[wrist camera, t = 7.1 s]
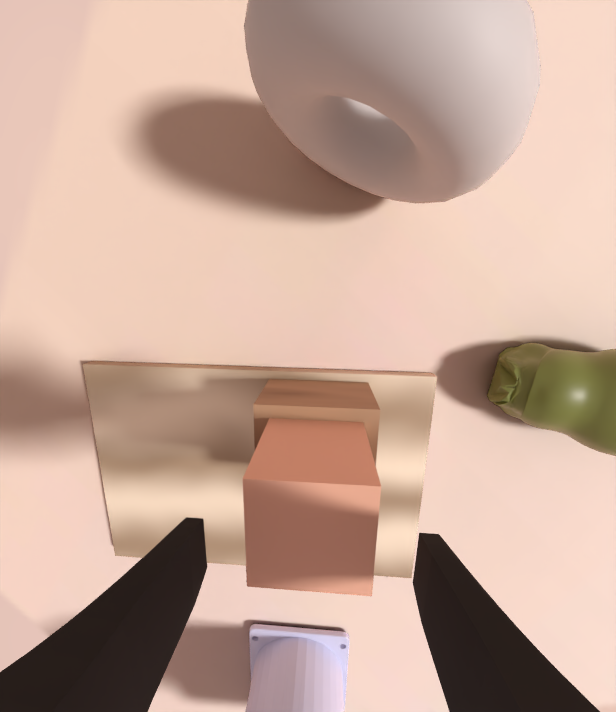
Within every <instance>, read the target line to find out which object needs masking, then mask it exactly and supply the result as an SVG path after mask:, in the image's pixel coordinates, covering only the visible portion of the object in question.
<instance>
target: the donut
mask: <svg viewBox="0 0 616 712" xmlns="http://www.w3.org/2000/svg"><path fill="white" fill-rule="evenodd" d="M244 30H245V41H246V50H247V55H248V61H249V66H250V72H251V77H252V80H253V83H254V85H255V88H256V91H257V93H258V95H259V97H260V99H261V101H262V103H263V105H264V106H265V108H266V110H267V112H268V114H269V116H270V117H271V118H272V120H273V121H274V122H275V124H276V125H277V126H278V127H279V128H280V130H281V131H282V132H283V133H284V134H285V136H286V137H287V138H288V139H289V140H290V142H291V143H292V144H293V145H294V146H296V147H297V148H298V149H299V150H300V151H301V152H302V153H303V154H305V155H306V156H307V157H308V158H309V159H310V160H312V161H313V162H315V163H316V164H317V165H319V166H320V167H322V168H323V169H325V170H326V171H327V172H329V173H330V174H332V175H334V176H336V177H338V178H339V179H341V180H343V181H345V182H347V183H348V184H350V185H352V186H355V187H357V188H359V189H362V190H364V191H366V192H369V193H371V194H374V195H377V196H381V197H384V198H388V199H391V200H395V201H403V202H410V203H432V202H445V201H448V200H450V199H453V198H455V197H458V196H460V195H463V194H465V193H468V192H470V191H473V190H475V189H477V188H479V187H480V186H481V185H482V184H484V183H485V182H486V181H487V180H489V179H490V178H491V177H492V176H493V175H494V174H495V173H496V172H497V171H498V169H499V168H500V167H501V166H502V165H503V164H504V163H505V162H506V161H507V160H508V159H509V158H510V156H511V155H512V154H513V152H514V151H515V150H516V148H517V147H518V146H519V144H520V143H521V141H522V138H523V136H524V133H525V131H526V128H527V126H528V123H529V119H530V116H531V113H532V109H533V106H534V103H535V99H536V96H537V93H538V89H539V86H540V67H541V65H540V58H539V50H538V42H537V35H536V27H535V20H534V12H533V10H532V8H531V7H530V5H529V3H528V1H527V0H249V1H248V5H247V11H246V17H245V24H244Z"/></svg>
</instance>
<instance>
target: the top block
mask: <svg viewBox="0 0 616 712" xmlns="http://www.w3.org/2000/svg"><path fill="white" fill-rule="evenodd" d="M380 496H381V484H380V480H379V476H378V473H377V469H376V466H375V462H374V458H373V455H372V451H371V448H370V444H369V440H368V437H367V433H366V429H365V426H364V422H346V421H323V420H300V419H277V418H269V420H268V422H267V425H266V427H265V429H264V431H263V434H262V436H261V438H260V440H259V443H258V445H257V447H256V449H255V452H254V454H253V456H252V458H251V461H250V463H249V465H248V467H247V470H246V472H245V474H244V476H243V502H244V526H245V549H246V573H247V586H248V587H261V588H273V589H286V590H299V591H312V592H324V593H337V594H350V595H362V596H372V588H373V576H374V565H375V553H376V542H377V530H378V519H379V507H380Z"/></svg>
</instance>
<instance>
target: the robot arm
mask: <svg viewBox="0 0 616 712" xmlns="http://www.w3.org/2000/svg"><path fill="white" fill-rule="evenodd" d="M206 569H207V558H206V545H205V532H204V520H203V518H188V517H186V518H185V519H184V520H183V521H181V522H180V523H179V524H178V525H177V526H176V527H175V528H174V529H173V530H172V531H171V532H170V533H169V534H168V535H167V536H165V537H164V538H163V539H162V540H161V541H160V542H159V543H158V544H157V545H156V546H155V547H154V548H153V549H152V550H151V551H150V552H149V553H147V554H146V555H145V556H144V557H143V558H142V559H141V560H140V561H139V562H138V563H136V564H135V565H134V566H133V567H132V568H131V569H130V570H129V571H128V572H127V573H126V574H124V575H123V576H122V577H121V578H120V579H119V580H118V581H117V582H115V583H114V584H113V585H112V586H111V587H110V588H108V589H107V590H106V591H105V592H104V593H103V594H101V595H100V596H99V597H98V598H97V599H95V600H94V601H93V602H92V603H91V604H90V605H88V606H87V607H86V608H85V609H84V610H82V611H81V612H80V613H79V614H77V615H76V616H75V617H74V618H73V619H71V620H70V621H69V622H68V623H66V624H65V625H64V626H62V627H61V628H60V629H59V630H57V631H56V632H55V633H53V634H52V635H51V636H49V637H48V638H47V639H46V640H44V641H43V642H42V643H40V644H39V645H38V646H36V647H35V648H34V649H32V650H31V651H30V652H28V653H27V654H26V655H24V656H23V657H21V658H20V659H18V660H17V661H15V662H14V663H13V664H11V665H10V666H8V667H7V668H6V669H4V670H3V671H1V672H0V712H148V709H149V707H150V704H151V702H152V700H153V697H154V695H155V693H156V691H157V688H158V686H159V684H160V682H161V679H162V677H163V675H164V673H165V670H166V668H167V666H168V664H169V661H170V659H171V657H172V655H173V653H174V650H175V648H176V646H177V644H178V641H179V639H180V637H181V635H182V632H183V630H184V628H185V626H186V623H187V621H188V619H189V616H190V614H191V612H192V609H193V607H194V605H195V602H196V599H197V596H198V593H199V591H200V588H201V585H202V582H203V579H204V575H205V572H206ZM413 586H414V590H415V595H416V600H417V605H418V609H419V613H420V618H421V622H422V626H423V629H424V632H425V635H426V639H427V642H428V645H429V648H430V651H431V655H432V658H433V661H434V664H435V667H436V670H437V673H438V677H439V680H440V683H441V686H442V689H443V692H444V695H445V699H446V702H447V705H448V708H449V711H450V712H600V711H599V710H598V709H597V708H596V707H595V706H594V705H592V704H591V703H590V702H589V701H588V700H587V699H586V698H585V697H584V696H583V695H582V694H581V693H580V692H579V691H578V690H577V689H576V688H575V687H574V686H573V685H572V684H571V683H570V682H569V681H568V680H567V679H566V678H565V677H564V676H563V675H562V674H561V673H560V672H559V671H558V670H557V669H556V668H555V667H554V666H553V665H552V664H551V663H550V662H549V661H548V660H547V659H546V657H545V656H544V655H543V654H542V653H541V652H540V651H539V650H538V649H537V648H536V647H535V646H534V645H533V644H532V643H531V642H530V640H529V639H528V638H527V637H526V636H525V635H524V634H523V633H522V632H521V631H520V630H519V629H518V627H517V626H516V625H515V624H514V623H513V622H512V621H511V620H510V619H509V617H508V616H507V615H506V614H505V613H504V612H503V611H502V609H501V608H500V607H499V606H498V605H497V604H496V603H495V601H494V600H493V599H492V598H491V597H490V596H489V594H488V593H487V592H486V591H485V590H484V589H483V587H482V586H481V585H480V584H479V583H478V582H477V580H476V579H475V578H474V577H473V576H472V574H471V573H470V572H469V571H468V569H467V568H466V567H465V566H464V565H463V563H462V562H461V561H460V560H459V558H458V557H457V556H456V555H455V553H454V552H453V551H452V550H451V549H450V547H449V546H448V545H447V544H446V542H445V541H444V540H443V539H442V537H441V536H440V535H439V534H428V533H419V540H418V548H417V555H416V563H415V571H414V578H413ZM249 644H250V669H251V686H250V691H249V696H248V701H247V707H246V712H345V698H346V683H347V669H348V655H349V635H348V634H347V633H346V632H342V631H331V630H320V629H308V628H297V627H285V626H274V625H263V624H253V625H251V626H250V631H249Z"/></svg>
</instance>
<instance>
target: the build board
mask: <svg viewBox="0 0 616 712" xmlns="http://www.w3.org/2000/svg"><path fill="white" fill-rule="evenodd" d="M83 370H84V376H85V382H86V387H87V393H88V399H89V405H90V411H91V417H92V423H93V428H94V434H95V440H96V446H97V452H98V458H99V464H100V469H101V475H102V481H103V487H104V493H105V499H106V505H107V510H108V516H109V522H110V528H111V534H112V540H113V546H114V551H115V556H126V557H140V558H143V557H144V556H145V555H146V554H147V553H149V552H150V551H151V550H152V549H153V548H154V547H155V546H156V545H157V544H158V543H159V542H160V541H161V540H162V539H163V538H164V537H165V536H167V535H168V534H169V533H170V532H171V531H172V530H173V529H174V528H175V527H176V526H177V525H178V524H179V523H180V522H181V521H183V520H184V519H185V518H186V517H188V518H203V520H204V532H205V545H206V558H207V563H219V564H232V565H245V566H246V549H245V526H244V502H243V476H244V474H245V472H246V470H247V467H248V465H249V463H250V461H251V458H252V456H253V454H254V452H255V446H254V411H253V404H254V402H255V401H256V399H257V398H258V396H259V395H260V393H261V391H262V390H263V388H264V387H265V385H266V384H267V382H268V380H269V379H291V380H318V381H345V382H368V383H369V385H370V388H371V390H372V392H373V394H374V397H375V399H376V401H377V403H378V406H379V408H380V420H379V432H378V444H377V456H376V469H377V473H378V476H379V480H380V484H381V496H380V507H379V519H378V530H377V542H376V553H375V565H374V575H377V576H390V577H403V578H411V576H412V568H413V561H414V553H415V545H416V537H417V529H418V522H419V514H420V506H421V498H422V491H423V483H424V475H425V467H426V459H427V452H428V444H429V436H430V428H431V421H432V413H433V405H434V397H435V389H436V382H437V376H435V375H434V374H433V373H419V372H391V371H362V370H333V369H304V368H276V367H247V366H218V365H190V364H161V363H132V362H103V361H91V362H88V363H85V364H83Z"/></svg>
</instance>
